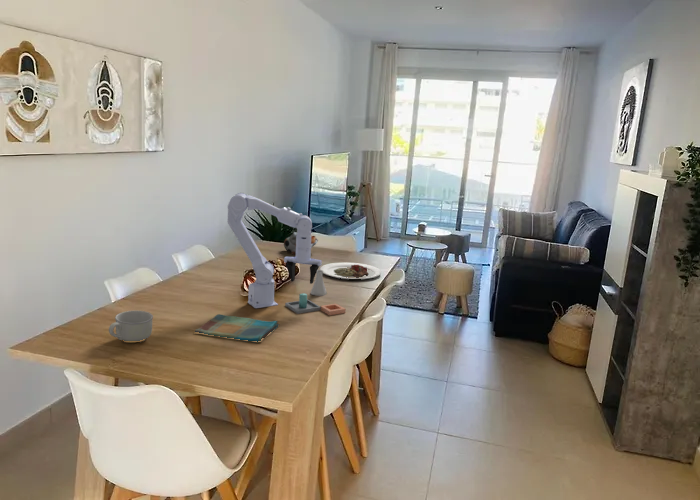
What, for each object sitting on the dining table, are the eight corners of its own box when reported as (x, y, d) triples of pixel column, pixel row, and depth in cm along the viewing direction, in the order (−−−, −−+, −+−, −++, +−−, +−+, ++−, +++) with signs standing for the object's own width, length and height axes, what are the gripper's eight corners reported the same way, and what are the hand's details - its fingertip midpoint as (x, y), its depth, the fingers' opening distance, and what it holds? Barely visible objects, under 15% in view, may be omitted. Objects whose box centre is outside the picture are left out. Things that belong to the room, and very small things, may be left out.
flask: (324, 297, 214) (325, 273, 212) (307, 295, 215) (308, 272, 213) (329, 292, 221) (330, 269, 219) (312, 290, 222) (313, 268, 220)
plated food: (313, 278, 241) (313, 271, 241) (327, 263, 270) (327, 257, 270) (376, 284, 237) (377, 277, 236) (384, 269, 265) (384, 262, 265)
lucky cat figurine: (308, 248, 302) (319, 227, 294) (310, 262, 291) (321, 241, 283) (281, 240, 296) (291, 219, 288) (282, 254, 285) (293, 232, 277)
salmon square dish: (329, 316, 192) (329, 311, 191) (320, 310, 197) (320, 305, 197) (345, 313, 196) (345, 308, 195) (335, 307, 201) (335, 303, 201)
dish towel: (261, 345, 164) (261, 338, 163) (193, 336, 168) (193, 328, 168) (279, 326, 180) (279, 320, 179) (217, 318, 185) (217, 312, 184)
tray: (297, 314, 192) (297, 310, 191) (285, 306, 200) (285, 302, 199) (320, 310, 197) (320, 307, 197) (308, 303, 205) (308, 299, 205)
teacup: (142, 330, 169) (141, 307, 167) (160, 340, 162) (159, 316, 160) (99, 342, 158) (97, 317, 156) (116, 353, 151) (115, 327, 150)
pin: (301, 308, 196) (301, 296, 195) (297, 306, 199) (298, 294, 198) (308, 307, 198) (308, 295, 197) (304, 305, 200) (304, 293, 199)
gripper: (324, 247, 200) (323, 281, 203) (288, 243, 203) (287, 277, 206) (319, 251, 193) (317, 286, 196) (282, 247, 196) (281, 281, 199)
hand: (302, 281), depth 200 cm, fingers open, 7 cm apart
